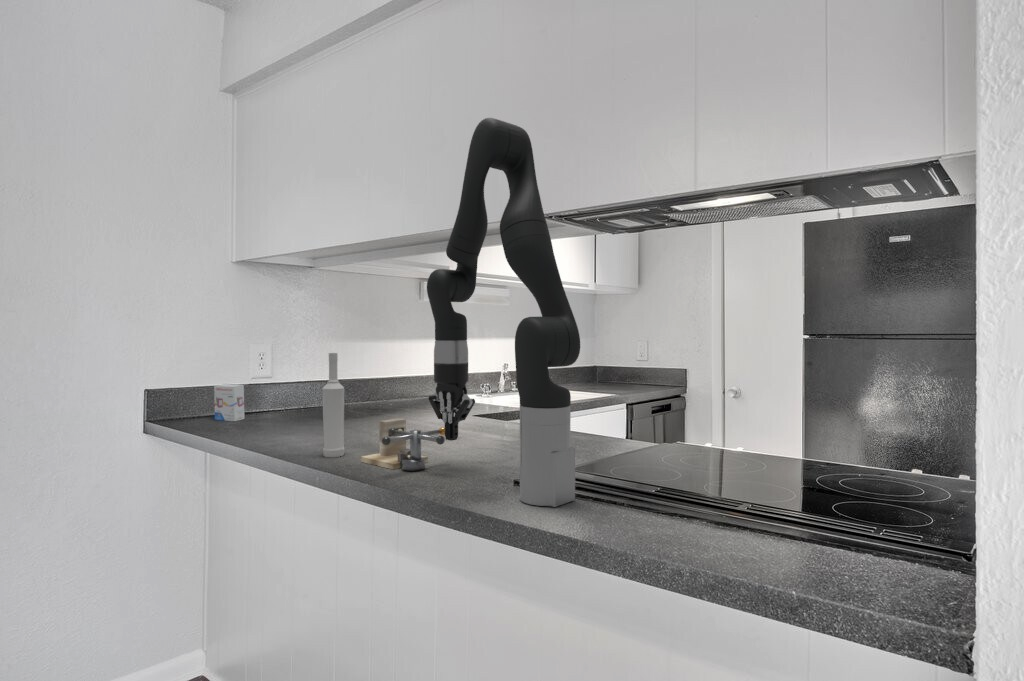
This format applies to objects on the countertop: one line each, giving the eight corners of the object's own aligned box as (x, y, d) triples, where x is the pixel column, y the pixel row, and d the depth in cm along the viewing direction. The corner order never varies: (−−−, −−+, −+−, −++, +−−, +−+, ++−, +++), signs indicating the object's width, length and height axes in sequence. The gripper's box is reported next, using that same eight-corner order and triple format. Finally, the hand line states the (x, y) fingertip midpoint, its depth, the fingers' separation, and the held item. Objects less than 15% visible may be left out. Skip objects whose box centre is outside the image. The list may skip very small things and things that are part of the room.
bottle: (318, 456, 153) (317, 353, 152) (333, 452, 158) (332, 352, 157) (334, 458, 151) (333, 353, 150) (349, 454, 155) (348, 352, 155)
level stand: (434, 463, 145) (434, 423, 145) (400, 471, 138) (400, 429, 137) (395, 455, 155) (394, 417, 154) (360, 461, 147) (360, 422, 147)
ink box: (213, 420, 211) (213, 384, 211) (224, 418, 216) (224, 383, 216) (234, 421, 209) (234, 385, 208) (245, 419, 214) (244, 384, 213)
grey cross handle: (473, 467, 140) (473, 430, 139) (410, 482, 126) (410, 441, 126) (420, 456, 151) (420, 421, 151) (357, 469, 138) (357, 431, 138)
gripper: (484, 361, 137) (484, 441, 138) (443, 359, 146) (443, 434, 146) (459, 363, 131) (460, 446, 132) (418, 360, 140) (418, 438, 141)
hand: (451, 439), depth 139 cm, fingers closed
